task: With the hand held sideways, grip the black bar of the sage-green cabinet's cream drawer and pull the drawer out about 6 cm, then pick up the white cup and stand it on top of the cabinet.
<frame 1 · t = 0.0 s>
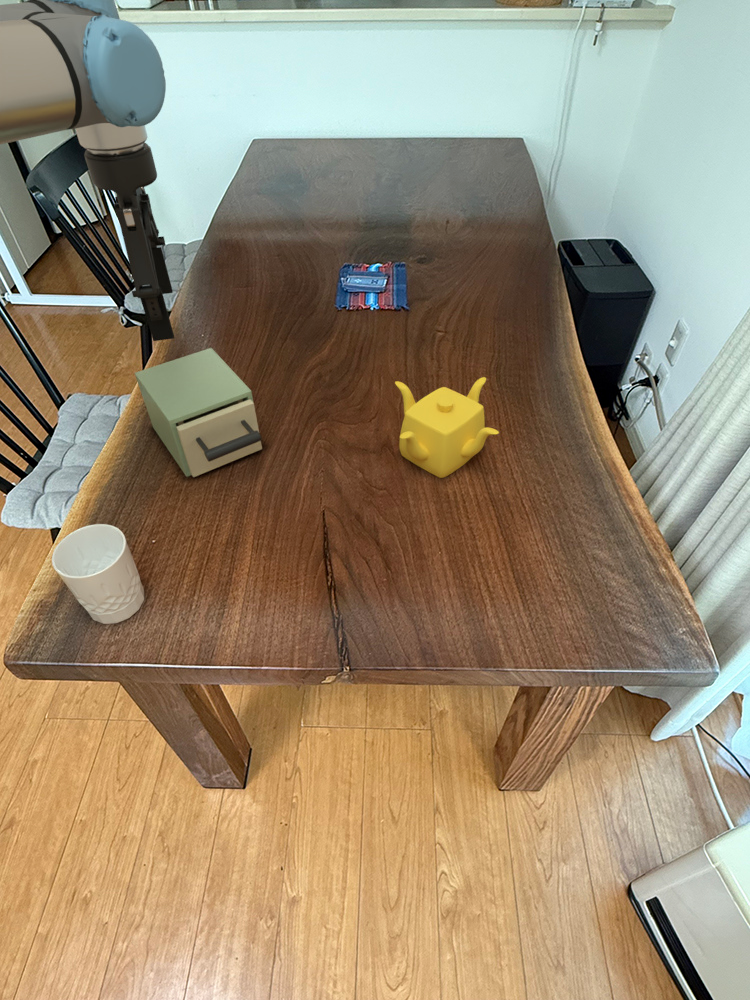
hand: (163, 314, 85), 20 cm above the table, tool pointing down, fingers open, 13 cm apart
teapot: (440, 451, 94), on the table
drawer: (211, 425, 90), point 5 cm above the table, slide at 0.5 cm
white cup: (117, 602, 74), on the table
cabinet: (206, 436, 97), on the table
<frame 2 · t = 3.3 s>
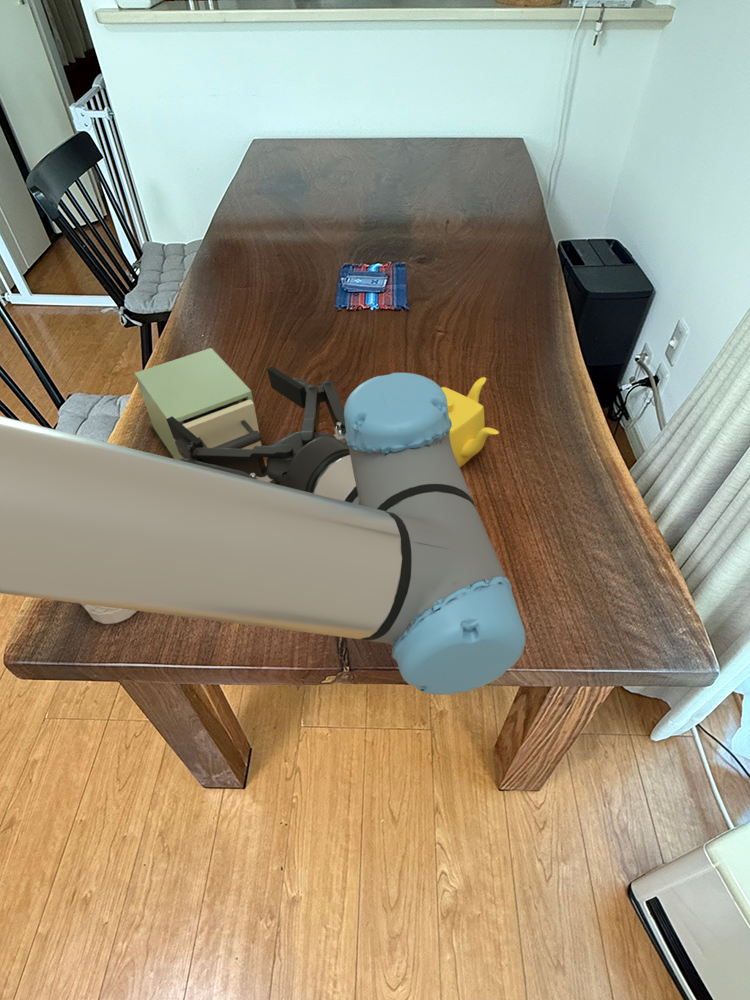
hand: (224, 400, 70), 20 cm above the table, tool horizontal, fingers open, 13 cm apart
nothing on the table moved.
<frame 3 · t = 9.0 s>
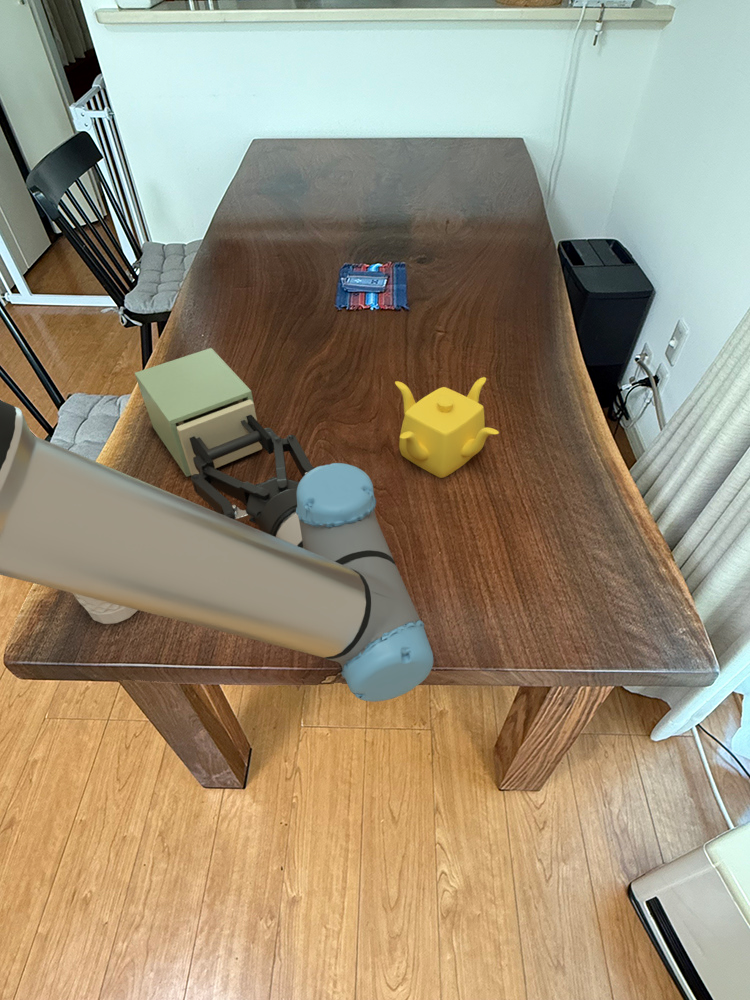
hand: (222, 433, 86), 7 cm above the table, tool horizontal, fingers closed on drawer, 8 cm apart
drawer: (211, 425, 90), point 5 cm above the table, slide at 0.5 cm, touching gripper
everything else where it was.
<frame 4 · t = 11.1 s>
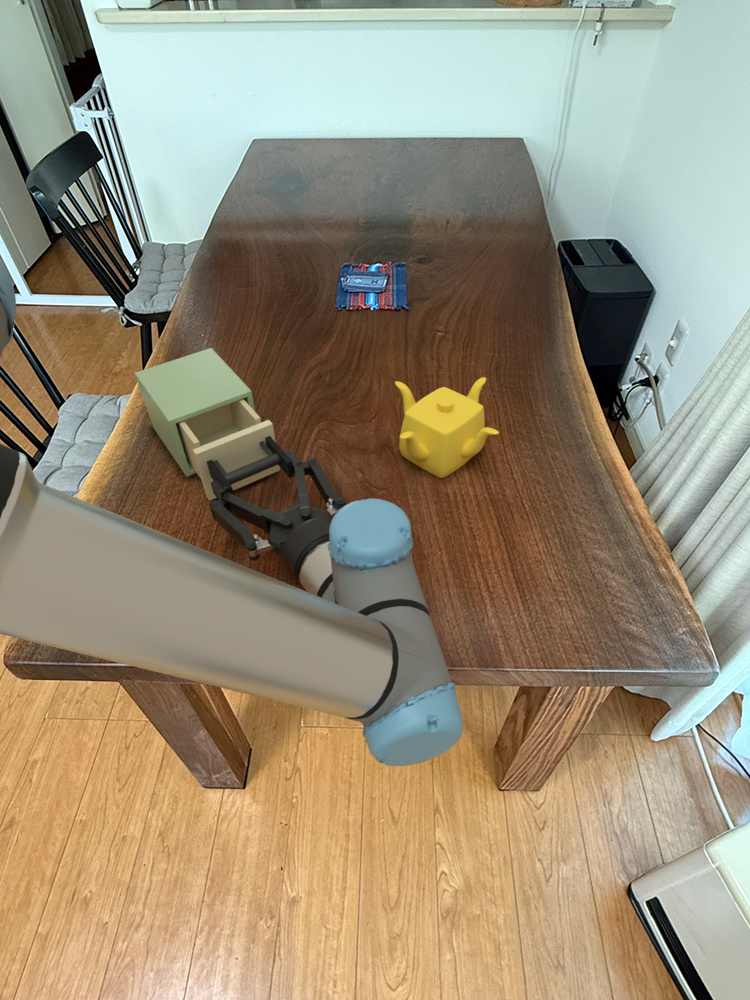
hand: (240, 455, 83), 7 cm above the table, tool horizontal, fingers closed on drawer, 8 cm apart
drawer: (228, 446, 87), point 5 cm above the table, slide at 6.5 cm, touching gripper
everything else where it was.
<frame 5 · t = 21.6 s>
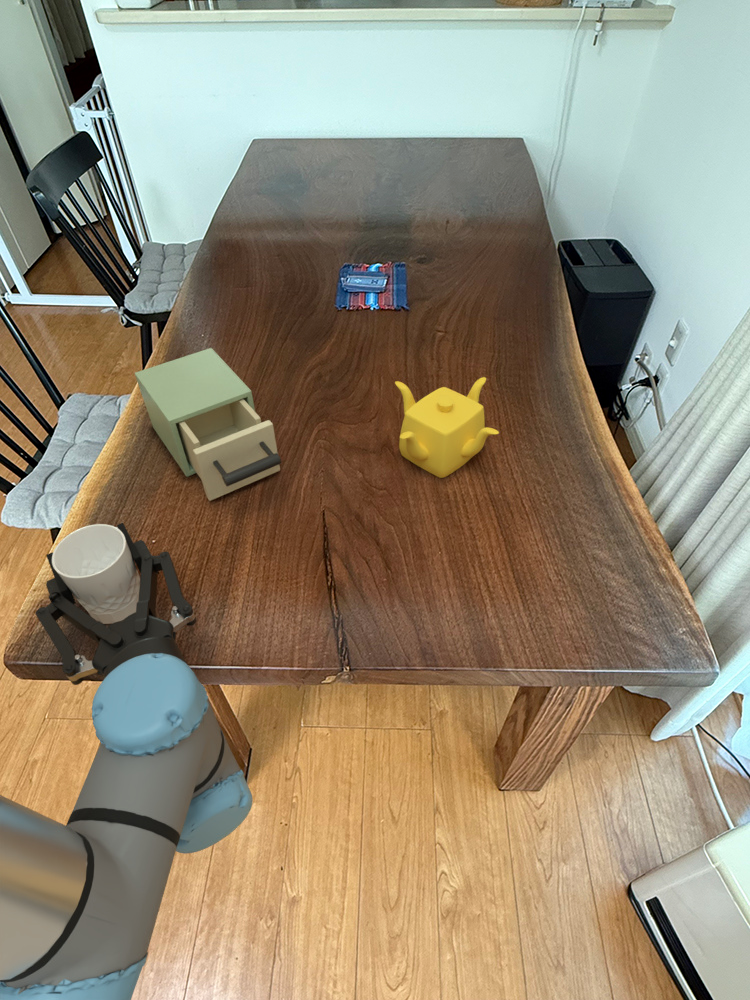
hand: (89, 545, 73), 6 cm above the table, tool horizontal, fingers closed on white cup, 8 cm apart
drawer: (228, 446, 87), point 5 cm above the table, slide at 6.5 cm
white cup: (117, 602, 74), on the table, touching gripper
everything else where it was.
when the fingers open (17 cm above the table, at t = 30.6 s): white cup stays where it is, resting on cabinet.
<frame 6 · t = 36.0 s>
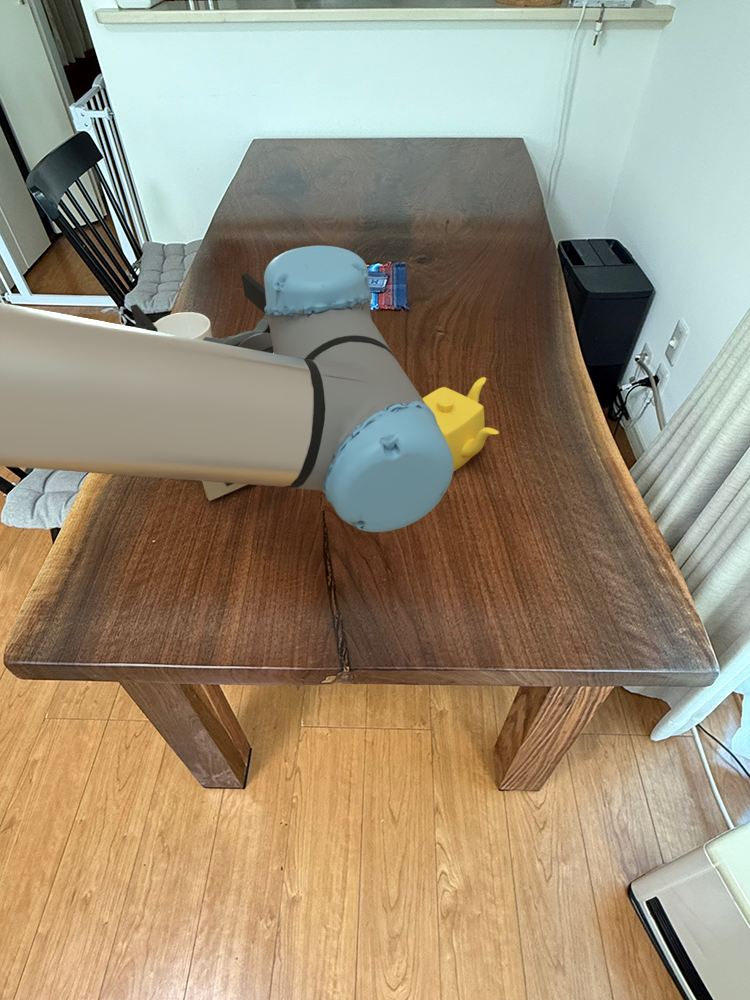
hand: (193, 299, 70), 28 cm above the table, tool horizontal, fingers open, 13 cm apart
white cup: (197, 389, 88), point 10 cm above the table, touching cabinet
everything else where it was.
at the end: drawer slide at 6.5 cm; white cup inside the target area on the cabinet (2.0 cm from its centre), point 10.4 cm above the cabinet's base; white cup tilted 0° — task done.
